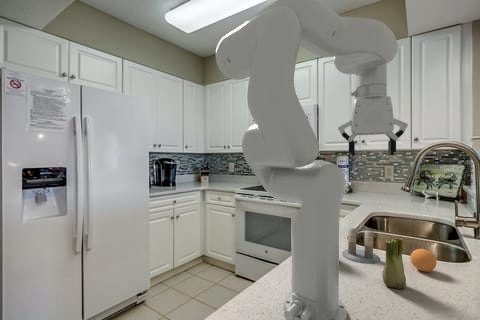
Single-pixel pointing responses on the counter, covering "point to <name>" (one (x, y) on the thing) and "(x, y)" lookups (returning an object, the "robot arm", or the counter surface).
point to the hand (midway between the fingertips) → (371, 155)
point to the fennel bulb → (394, 265)
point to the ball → (423, 260)
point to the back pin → (352, 241)
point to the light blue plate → (360, 256)
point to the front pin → (369, 244)
